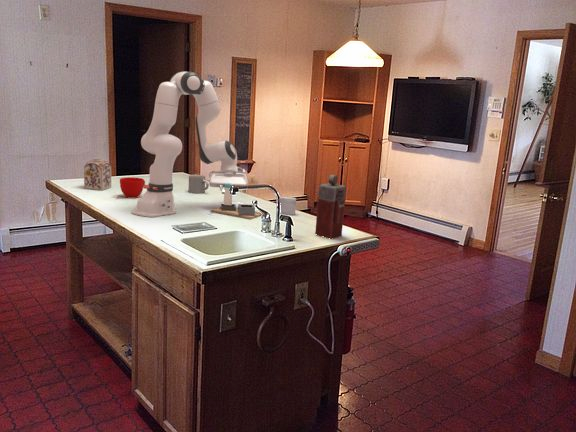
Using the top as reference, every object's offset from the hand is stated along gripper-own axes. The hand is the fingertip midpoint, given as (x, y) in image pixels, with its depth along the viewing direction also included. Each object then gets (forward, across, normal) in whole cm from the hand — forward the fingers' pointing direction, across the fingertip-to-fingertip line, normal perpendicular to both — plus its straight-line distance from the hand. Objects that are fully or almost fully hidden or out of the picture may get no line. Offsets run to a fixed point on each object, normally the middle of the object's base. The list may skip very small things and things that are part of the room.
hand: (228, 193), depth 273 cm
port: (+12, +9, 0) cm, 15 cm away
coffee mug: (-29, -16, +42) cm, 53 cm away
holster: (+5, 0, +7) cm, 9 cm away
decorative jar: (-29, -75, +44) cm, 91 cm away
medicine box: (+7, +32, +6) cm, 33 cm away
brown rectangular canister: (+37, +46, -24) cm, 64 cm away
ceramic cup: (-14, -51, +29) cm, 61 cm away
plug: (+4, 0, +5) cm, 6 cm away
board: (+10, +5, +4) cm, 11 cm away
